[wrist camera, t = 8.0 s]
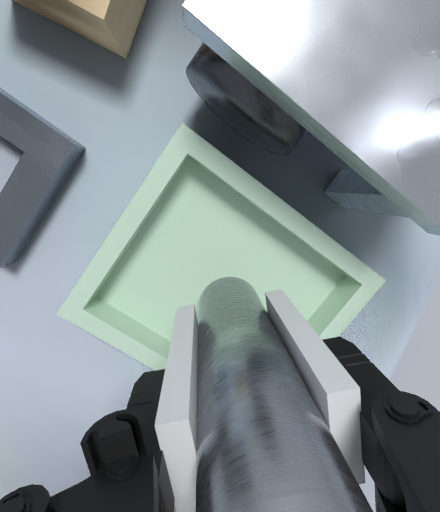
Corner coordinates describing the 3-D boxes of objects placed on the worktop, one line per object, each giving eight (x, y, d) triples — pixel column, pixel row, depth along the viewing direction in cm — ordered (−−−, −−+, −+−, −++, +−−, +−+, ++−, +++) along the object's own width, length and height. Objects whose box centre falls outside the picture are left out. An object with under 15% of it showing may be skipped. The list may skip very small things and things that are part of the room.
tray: (76, 296, 19) (56, 313, 16) (184, 131, 17) (182, 122, 14) (251, 400, 21) (259, 429, 19) (361, 268, 19) (386, 280, 17)
